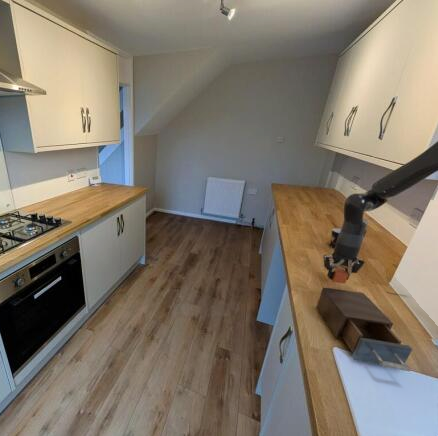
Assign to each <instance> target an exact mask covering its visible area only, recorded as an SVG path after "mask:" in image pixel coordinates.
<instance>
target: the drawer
mask: <svg viewBox="0 0 438 436" xmlns="http://www.w3.org/2000/svg"><path fill="white" fill-rule="evenodd" d="M341 336H342V338H343V339H344V340H343V341H344V342H345V344H346V345H347V347H348V348H349V349H350V352H351V353H352V355H351V357H352V359H353V361H358V362H363V363H368V364H373V365H379V367H383V368H388V369H394V370H398V371H403V372H411V367H410V366H409V365H408V364H406V362H407V361H408V358H409V357H410V355H411V353H412V351H413V348H412V347H411V346H410V345H409V344H402V342H403V341H402V340H401V339H400V338H399V337H398V336H397V335H396V333H394V332H393V330H392V329H391V330H390V328H389V327H388V326H387V325H386V324H379V323H373V322H366V321H360V320H353V319H346V322H345V324H344V327H343V330H342V332H341Z"/></svg>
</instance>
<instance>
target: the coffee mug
mask: <svg viewBox="0 0 438 436" xmlns="http://www.w3.org/2000/svg"><path fill="white" fill-rule="evenodd" d="M341 229H342V228H339V227H338V228H332V230H331V235H330V242H329V247H330V248H331V249H334V248H335V245H336V242H337V238H338V235H339V233H340V231H341ZM331 246H332V247H331Z"/></svg>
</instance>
